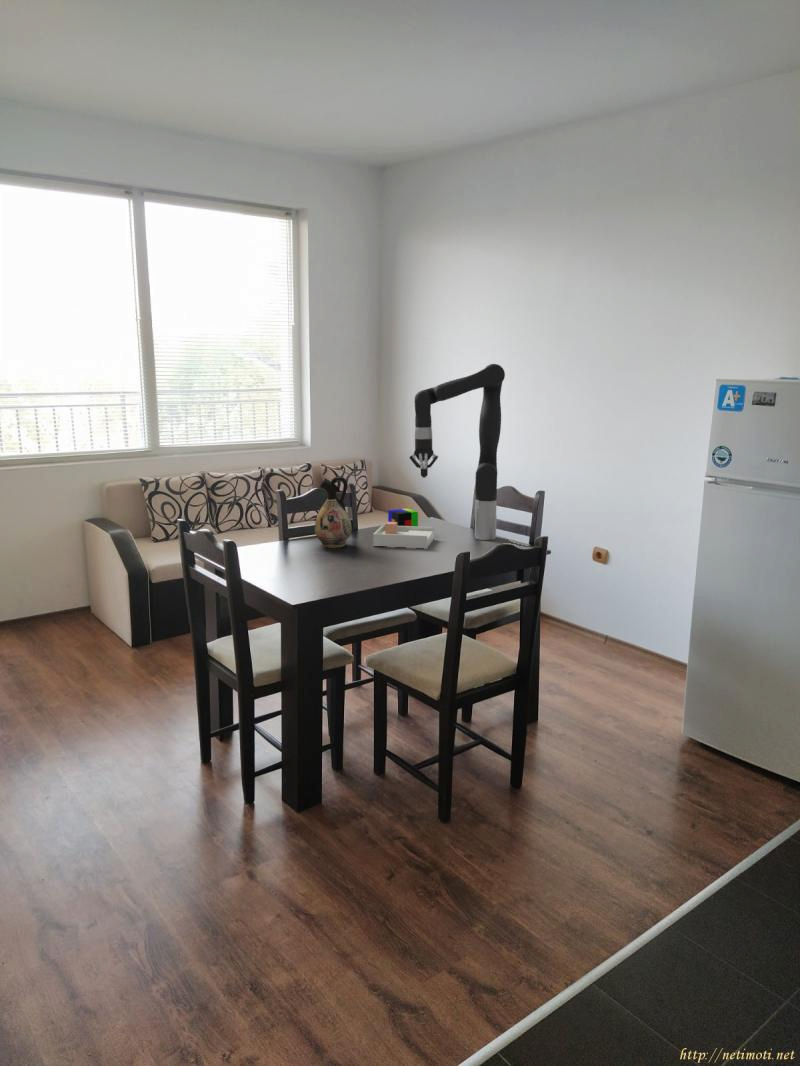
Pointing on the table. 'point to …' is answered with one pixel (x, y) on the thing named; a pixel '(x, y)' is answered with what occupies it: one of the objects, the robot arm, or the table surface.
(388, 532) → the block
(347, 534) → the ceramic jug
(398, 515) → the puzzle toy
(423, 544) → the box
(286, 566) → the table surface
